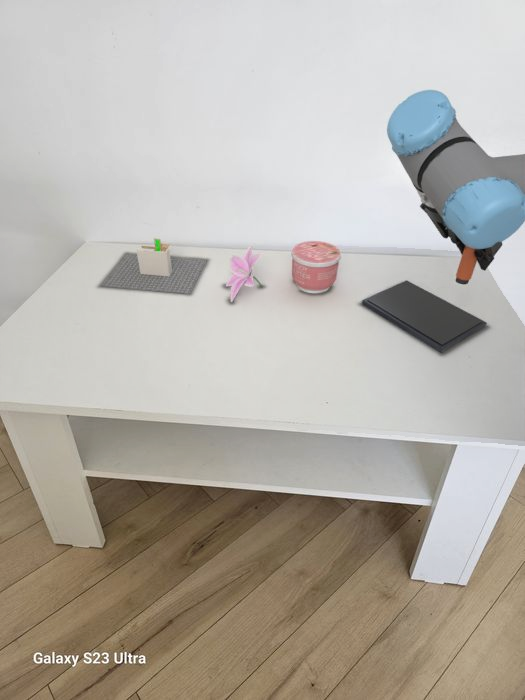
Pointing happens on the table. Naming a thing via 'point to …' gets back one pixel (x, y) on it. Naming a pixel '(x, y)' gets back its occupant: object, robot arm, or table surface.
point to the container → (315, 265)
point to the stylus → (466, 266)
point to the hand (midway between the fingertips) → (479, 260)
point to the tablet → (424, 315)
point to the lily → (242, 271)
